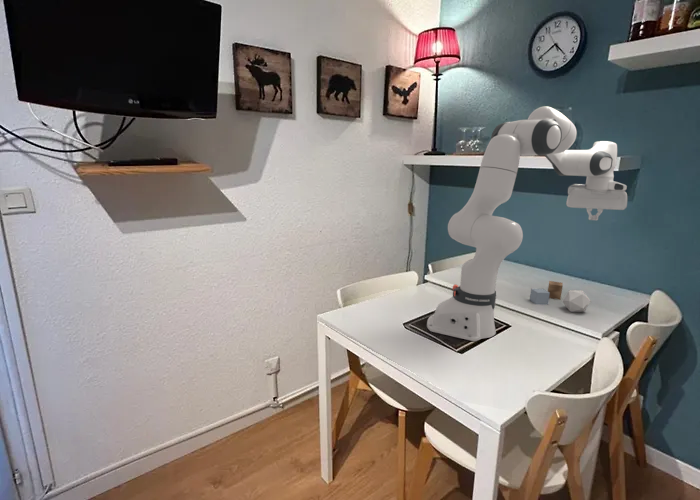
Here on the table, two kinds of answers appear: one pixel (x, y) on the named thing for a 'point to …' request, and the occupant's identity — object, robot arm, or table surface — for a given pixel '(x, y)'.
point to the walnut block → (555, 289)
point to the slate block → (539, 296)
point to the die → (576, 301)
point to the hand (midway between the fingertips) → (593, 220)
